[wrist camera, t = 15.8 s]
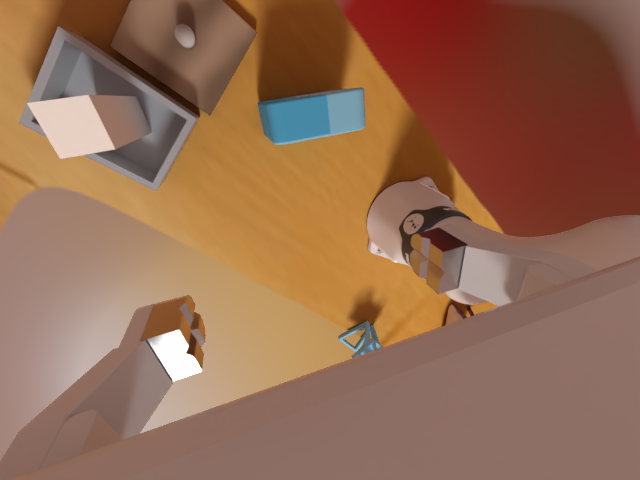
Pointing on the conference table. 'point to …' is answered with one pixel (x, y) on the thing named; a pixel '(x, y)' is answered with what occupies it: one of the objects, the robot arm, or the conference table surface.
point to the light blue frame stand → (362, 339)
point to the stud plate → (178, 62)
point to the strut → (90, 123)
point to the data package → (313, 115)
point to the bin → (117, 80)
